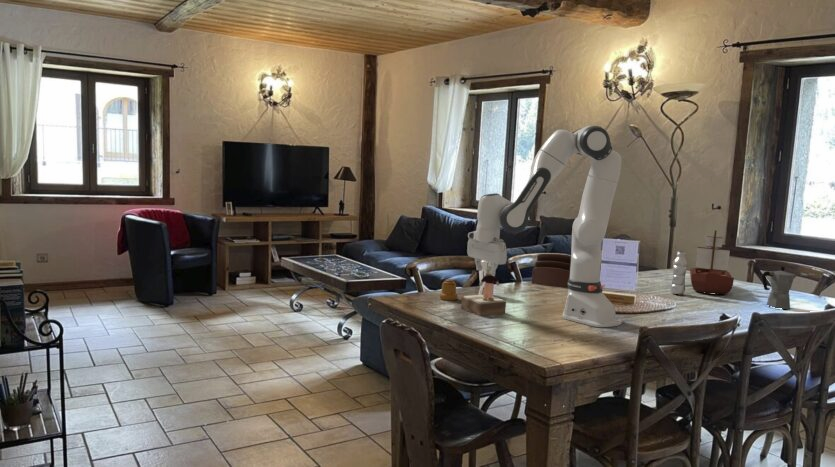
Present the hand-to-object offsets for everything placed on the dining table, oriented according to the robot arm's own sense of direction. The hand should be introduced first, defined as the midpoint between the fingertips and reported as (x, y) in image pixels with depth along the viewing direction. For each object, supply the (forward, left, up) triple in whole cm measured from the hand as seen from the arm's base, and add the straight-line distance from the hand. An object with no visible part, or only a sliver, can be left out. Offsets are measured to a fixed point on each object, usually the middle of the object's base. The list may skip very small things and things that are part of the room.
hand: (485, 272), depth 244 cm
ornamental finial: (+22, +1, -15) cm, 27 cm away
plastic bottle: (-7, -107, -15) cm, 108 cm away
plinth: (0, 0, -15) cm, 15 cm away
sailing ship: (-4, -135, -15) cm, 136 cm away
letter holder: (+31, -66, -15) cm, 75 cm away
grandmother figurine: (-3, 0, -10) cm, 11 cm away
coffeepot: (-41, -128, -15) cm, 135 cm away
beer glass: (+23, -19, -15) cm, 34 cm away
